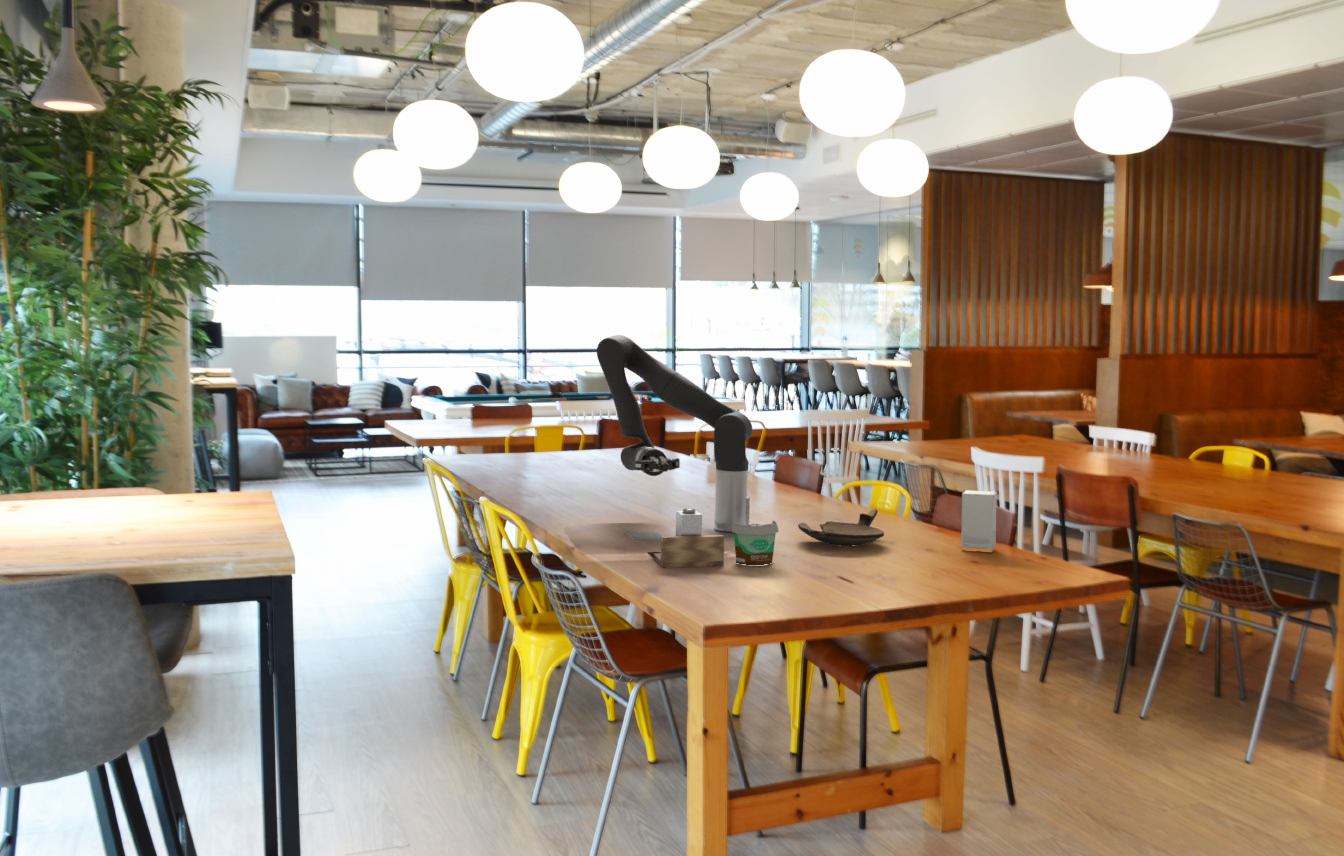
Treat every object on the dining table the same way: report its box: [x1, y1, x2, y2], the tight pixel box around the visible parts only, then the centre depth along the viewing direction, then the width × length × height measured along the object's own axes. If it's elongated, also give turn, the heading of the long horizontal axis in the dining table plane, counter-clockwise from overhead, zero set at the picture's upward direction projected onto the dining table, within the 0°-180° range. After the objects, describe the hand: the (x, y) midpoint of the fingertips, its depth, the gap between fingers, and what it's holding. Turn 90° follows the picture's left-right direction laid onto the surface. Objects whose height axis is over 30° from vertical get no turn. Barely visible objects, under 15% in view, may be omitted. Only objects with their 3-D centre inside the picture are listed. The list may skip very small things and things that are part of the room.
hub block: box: [675, 507, 703, 536], centre depth 255 cm, size 5×6×12 cm
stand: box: [624, 532, 663, 541], centre depth 279 cm, size 9×9×2 cm
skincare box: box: [960, 489, 998, 550], centre depth 276 cm, size 8×7×16 cm
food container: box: [732, 520, 779, 565], centre depth 254 cm, size 12×6×10 cm, turn 117°
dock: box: [647, 534, 725, 568], centre depth 259 cm, size 15×19×7 cm
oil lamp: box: [797, 508, 885, 547], centre depth 282 cm, size 22×30×8 cm
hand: (665, 467), depth 278 cm, fingers closed
